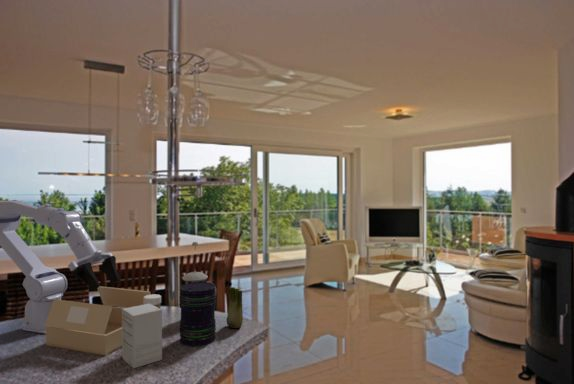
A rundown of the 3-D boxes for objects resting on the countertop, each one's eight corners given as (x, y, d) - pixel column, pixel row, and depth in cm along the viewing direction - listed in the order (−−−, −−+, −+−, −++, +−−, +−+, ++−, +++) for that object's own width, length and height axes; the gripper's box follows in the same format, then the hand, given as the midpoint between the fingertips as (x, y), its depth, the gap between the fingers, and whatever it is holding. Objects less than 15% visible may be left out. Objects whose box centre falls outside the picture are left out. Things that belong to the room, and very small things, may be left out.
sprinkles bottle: (163, 347, 109) (163, 296, 109) (145, 350, 107) (145, 299, 107) (158, 341, 113) (158, 292, 113) (141, 345, 111) (141, 295, 110)
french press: (181, 315, 136) (181, 239, 136) (217, 314, 137) (217, 239, 137) (176, 325, 126) (176, 244, 126) (215, 324, 127) (215, 243, 127)
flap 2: (96, 287, 126) (97, 285, 127) (103, 304, 129) (104, 303, 130) (149, 292, 120) (150, 291, 121) (155, 311, 123) (156, 310, 123)
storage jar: (198, 331, 122) (199, 280, 121) (223, 338, 116) (223, 285, 116) (171, 341, 113) (171, 287, 113) (196, 349, 108) (196, 292, 108)
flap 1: (46, 326, 110) (44, 325, 109) (55, 299, 112) (53, 298, 112) (104, 334, 103) (102, 334, 103) (112, 306, 106) (111, 306, 106)
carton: (46, 345, 110) (46, 326, 110) (102, 321, 129) (102, 306, 129) (106, 355, 104) (106, 335, 104) (155, 329, 123) (155, 312, 123)
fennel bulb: (244, 329, 123) (244, 289, 123) (228, 331, 122) (228, 290, 122) (241, 323, 129) (241, 284, 129) (225, 324, 127) (225, 285, 127)
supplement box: (150, 351, 107) (150, 302, 106) (162, 360, 101) (162, 309, 101) (121, 359, 102) (121, 308, 102) (132, 369, 96) (132, 315, 96)
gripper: (70, 241, 111) (96, 283, 109) (109, 234, 125) (133, 271, 122) (55, 256, 113) (80, 297, 111) (95, 248, 127) (118, 284, 124)
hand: (107, 284), depth 117 cm, fingers open, 7 cm apart
